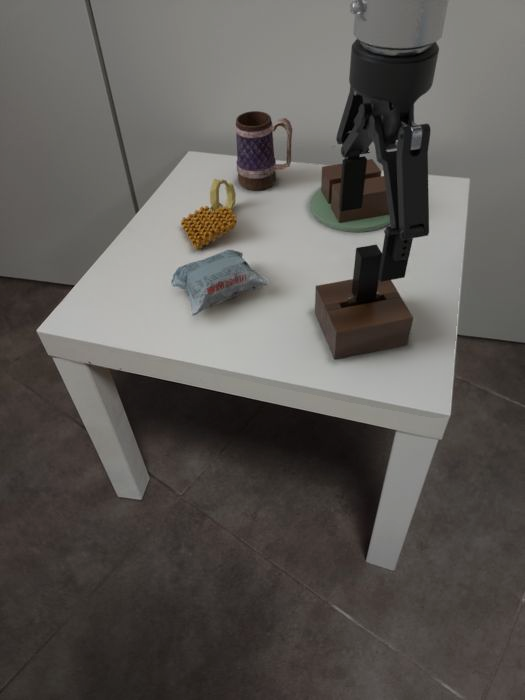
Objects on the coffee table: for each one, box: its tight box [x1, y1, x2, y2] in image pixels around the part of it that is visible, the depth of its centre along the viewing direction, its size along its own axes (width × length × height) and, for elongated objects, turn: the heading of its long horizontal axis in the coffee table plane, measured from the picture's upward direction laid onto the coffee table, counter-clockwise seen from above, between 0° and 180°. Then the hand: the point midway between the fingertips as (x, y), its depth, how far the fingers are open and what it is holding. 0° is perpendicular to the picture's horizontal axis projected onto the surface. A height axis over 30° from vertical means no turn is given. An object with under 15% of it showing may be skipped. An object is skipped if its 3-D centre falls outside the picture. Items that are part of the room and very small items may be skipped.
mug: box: [235, 110, 293, 191], centre depth 95 cm, size 10×7×12 cm
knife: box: [347, 244, 382, 307], centre depth 69 cm, size 2×4×13 cm, turn 102°
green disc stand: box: [310, 158, 391, 233], centre depth 91 cm, size 15×15×5 cm
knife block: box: [314, 278, 414, 360], centre depth 71 cm, size 9×10×5 cm
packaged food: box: [171, 249, 270, 317], centre depth 78 cm, size 9×12×5 cm
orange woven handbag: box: [180, 178, 238, 250], centre depth 89 cm, size 7×10×15 cm
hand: (369, 240), depth 63 cm, fingers open, 13 cm apart
